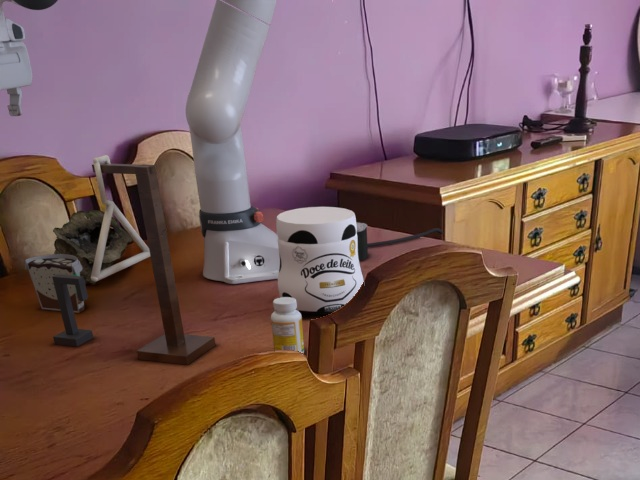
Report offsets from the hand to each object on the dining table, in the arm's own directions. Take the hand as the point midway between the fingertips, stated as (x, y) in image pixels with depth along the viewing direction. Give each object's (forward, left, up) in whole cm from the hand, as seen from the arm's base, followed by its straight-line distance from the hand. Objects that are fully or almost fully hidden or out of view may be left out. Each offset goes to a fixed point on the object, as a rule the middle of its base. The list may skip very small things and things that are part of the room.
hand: (1, 118), depth 152 cm
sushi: (-65, -28, -36) cm, 79 cm away
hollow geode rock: (-6, -28, -36) cm, 46 cm away
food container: (-3, -4, -36) cm, 36 cm away
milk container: (-55, +9, -36) cm, 67 cm away
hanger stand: (-25, +28, -36) cm, 52 cm away
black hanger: (-9, +19, -36) cm, 42 cm away
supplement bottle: (-47, +34, -36) cm, 69 cm away
